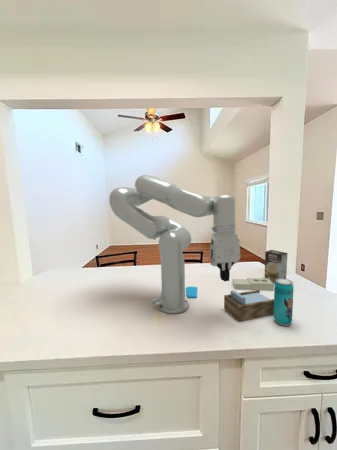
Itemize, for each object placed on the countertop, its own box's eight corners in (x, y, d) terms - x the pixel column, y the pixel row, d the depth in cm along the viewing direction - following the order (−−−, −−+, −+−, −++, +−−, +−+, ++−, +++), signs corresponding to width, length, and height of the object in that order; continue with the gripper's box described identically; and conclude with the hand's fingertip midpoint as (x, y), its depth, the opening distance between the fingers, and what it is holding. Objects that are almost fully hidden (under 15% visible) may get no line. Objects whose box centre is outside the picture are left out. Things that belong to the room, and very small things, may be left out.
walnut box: (239, 321, 76) (239, 306, 76) (224, 308, 86) (224, 295, 85) (275, 314, 81) (276, 300, 80) (257, 302, 90) (257, 290, 90)
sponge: (183, 296, 96) (196, 295, 95) (185, 286, 108) (197, 285, 107) (183, 300, 96) (196, 299, 95) (186, 289, 108) (197, 288, 107)
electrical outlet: (232, 277, 111) (269, 278, 109) (232, 284, 112) (268, 286, 109) (234, 282, 104) (274, 283, 102) (234, 290, 105) (273, 291, 102)
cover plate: (241, 308, 78) (242, 298, 77) (230, 299, 84) (230, 290, 84) (271, 302, 81) (271, 293, 81) (258, 295, 88) (258, 286, 88)
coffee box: (263, 280, 116) (264, 251, 115) (270, 277, 120) (271, 249, 118) (280, 285, 109) (281, 254, 107) (286, 282, 112) (288, 252, 111)
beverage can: (284, 328, 71) (285, 285, 70) (269, 320, 77) (270, 279, 75) (295, 324, 74) (297, 282, 72) (281, 316, 79) (282, 277, 77)
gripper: (210, 232, 71) (211, 286, 73) (248, 229, 75) (248, 280, 77) (200, 230, 78) (201, 279, 80) (236, 227, 82) (236, 274, 84)
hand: (224, 280), depth 78 cm, fingers closed
